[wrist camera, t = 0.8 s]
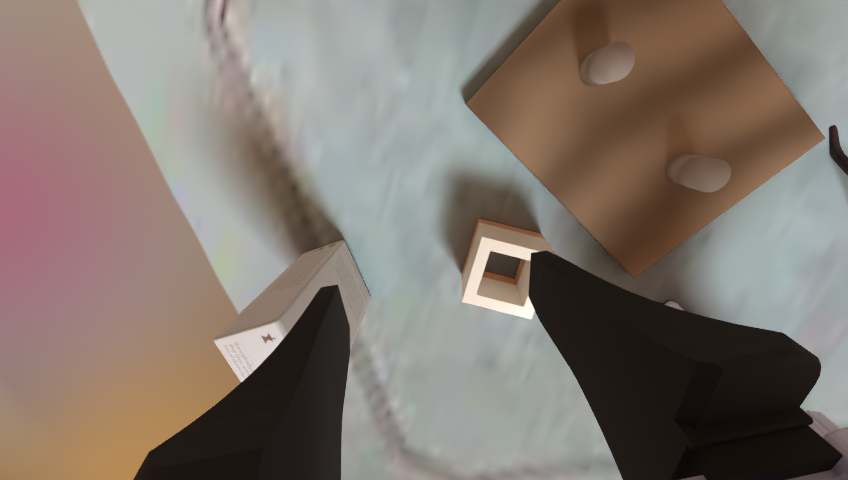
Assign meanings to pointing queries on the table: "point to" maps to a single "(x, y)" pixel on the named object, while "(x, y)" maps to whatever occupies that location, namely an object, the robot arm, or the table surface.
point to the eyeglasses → (837, 149)
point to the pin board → (644, 118)
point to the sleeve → (495, 287)
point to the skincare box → (292, 306)
